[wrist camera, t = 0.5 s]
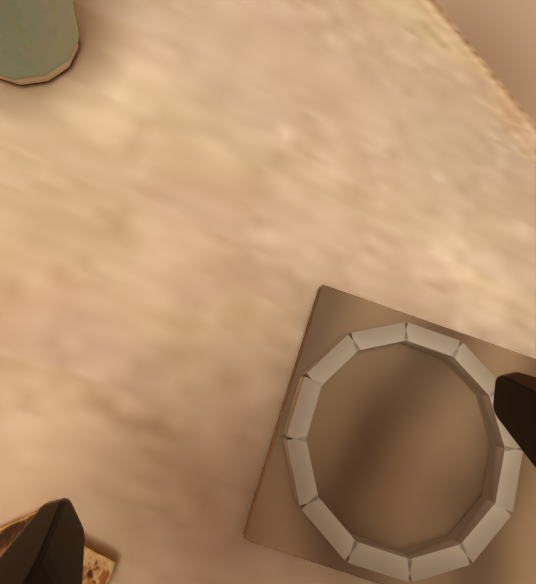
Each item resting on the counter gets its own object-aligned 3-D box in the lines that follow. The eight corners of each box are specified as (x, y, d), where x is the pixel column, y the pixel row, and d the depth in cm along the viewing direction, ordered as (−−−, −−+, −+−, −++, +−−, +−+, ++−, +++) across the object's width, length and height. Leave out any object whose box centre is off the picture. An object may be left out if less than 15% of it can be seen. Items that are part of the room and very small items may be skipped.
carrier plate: (708, 424, 26) (751, 428, 24) (691, 678, 23) (740, 709, 21) (318, 288, 25) (328, 279, 23) (243, 532, 22) (246, 549, 20)
